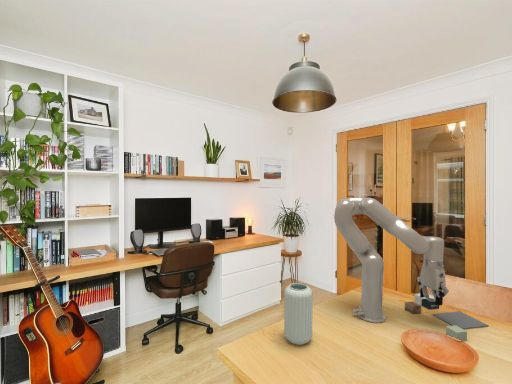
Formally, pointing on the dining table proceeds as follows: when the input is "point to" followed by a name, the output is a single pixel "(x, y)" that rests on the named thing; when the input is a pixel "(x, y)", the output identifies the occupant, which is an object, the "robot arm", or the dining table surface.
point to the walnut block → (413, 307)
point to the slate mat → (460, 320)
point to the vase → (298, 313)
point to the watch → (429, 299)
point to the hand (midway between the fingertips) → (430, 300)
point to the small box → (419, 299)
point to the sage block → (456, 332)
